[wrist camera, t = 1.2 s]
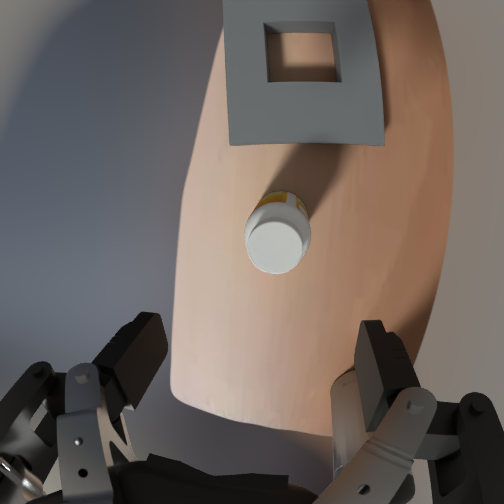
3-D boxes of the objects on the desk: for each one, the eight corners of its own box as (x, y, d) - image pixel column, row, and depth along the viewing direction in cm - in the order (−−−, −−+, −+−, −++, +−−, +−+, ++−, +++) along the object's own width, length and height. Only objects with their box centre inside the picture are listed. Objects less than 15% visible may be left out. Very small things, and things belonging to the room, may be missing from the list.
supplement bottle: (247, 228, 29) (225, 264, 21) (267, 181, 27) (254, 198, 18) (293, 249, 30) (292, 294, 21) (316, 204, 28) (326, 232, 19)
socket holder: (375, 145, 24) (384, 145, 22) (236, 145, 26) (229, 145, 24) (357, -4, 18) (362, -16, 15) (228, -2, 20) (222, -15, 17)
